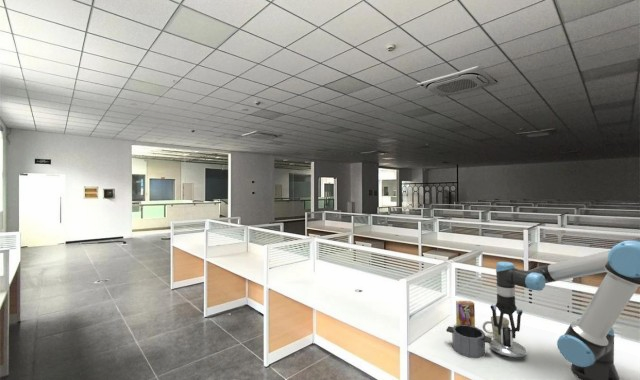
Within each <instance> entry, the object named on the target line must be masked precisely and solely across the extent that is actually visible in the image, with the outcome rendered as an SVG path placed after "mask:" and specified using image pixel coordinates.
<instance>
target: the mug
mask: <svg viewBox="0 0 640 380" xmlns="http://www.w3.org/2000/svg"><path fill="white" fill-rule="evenodd" d="M496 316H497V323H498V324H499V319H500V315H496ZM488 324H491V328H492V331H488V330H487V329H486V325H488ZM509 325H510V319H508V318H507V317H504V316H503V321H502V326H501V327H504V326H506V327H510V326H509ZM482 331H483V332H484V333H485V334H486V333H487V334H491V335H492V336H493V338H494V339H501V335H499V334H498V327H495V326H494V322H493V315H492V316H490V320H486V321H484V322H483V323H482Z"/></svg>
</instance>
